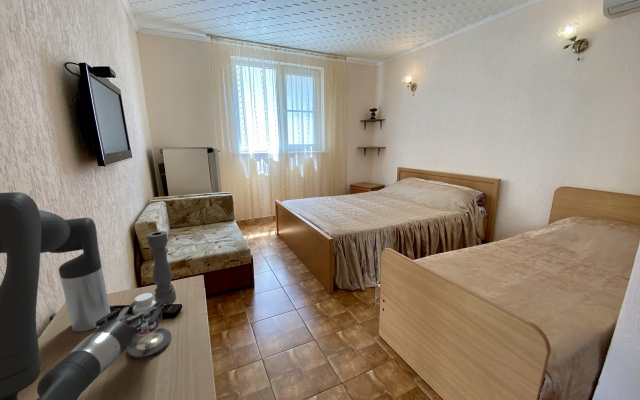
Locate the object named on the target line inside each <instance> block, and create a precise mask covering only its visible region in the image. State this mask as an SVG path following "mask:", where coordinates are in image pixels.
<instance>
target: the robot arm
mask: <svg viewBox="0 0 640 400" xmlns="http://www.w3.org/2000/svg"><path fill="white" fill-rule="evenodd" d="M36 203H37V202H35V200H34V199H33V198H32V197H31V196H30V195H28V194H27V193H24V192H18V191H17V192H13V191H12V192H0V254H6V267H5V273H4V276H3V278H2V281H1V283H0V400H18V399H19V398H18V393H20V392H22V391H24V390H25V389H27V388H28V387H30V386H31V385H32V384H33V383H34V382H36V380H37V379H38V377H39V375H40V374H41V357H40V348H39V347H40V346H39V339H38V330H37V301H38V292H39V291H38V289H39V279H40V278H39V277H40V265H41V264H40V263H41V254H44V253H52V254H63V253H68V252H69V253H70V252H76V251H81V250H82V251H83V252H82V253H81V254H79V255H78V256H76V257H74V258H72V259H69V260H67V261H65V262H64V263H62V264H61V265H60V266H59V268H58V274H59V278H60V282H61V286H62V290H63V295H64V299H65V304H66V307H67V312H68V316H69V317H68V318H69V321H70V324H71V329H72V331H73V332H75V333H77V332H78V333H81V332H87V331H90V330H93V329H95V330H94V331H93V332H91V333H90V334H89V335H87V337H85V338H84V339H83V340H82V341H81V342H79V343H78V344H77V345H76V346H75V347H74V348H73V349H72V350H71V351H70V352H69V353H68V354H67V355H66V356H65V357H63V358H62V359H61V360H60V361H59V362H57V364H55V365H54V366H53V367H52V368H50V369H49V370H48V371H47V372H46V373H45V374H44V375H43V376H42V377H41V378H40V380H39V381H38V383H37V388H36V392H37V395H38V398H36V399H35V400H78V399H79V397H80V396H81V395H82V393H84V391H85V390H86V389H87V388H88V387H90V385H91V384H92V383H93V382H94V381H95V380H96V379H98V377H99V376H100V375H101V374H103V372H105V371H106V370H108V368H109V367H110V366H111V365H112V364H113V363H114V362H115V361H116V360H117V359H118V358H119V357H120V355H121V354H122V353H123V352H124V351H125V350H126V349H128V346H129V345H130V344H131V342H132V341H133V340H134V339H135V336H136V335H137V334H138V333H139V332H141V331H142V330H143V329H149V331H150V332H152V331H154V330H155V329H156V327H157V325H158V324H159V325H160V322H161V321H162V319H163V312H162V309H163V308H164V302H163V300H162V299H159V300H158V301H157V302H156V301H155V302H156V303H155V304H154V305H153V306H152V307H151V308H150V309H148V310H146V311H145V310H143V311H141V312H139V313H138V314H136V315H133V307H134V306H135V301H133V302H132V303H131V304H130V305H128V306H125V307H123V309H121V308H119V307H118V308H115V309H113V311H111V308H110V302H109V298H108V297H109V296H108V292H107V287H106V283H105V282H106V280H105V277H104V271H103V266H102V261H101V256H100V250H99V249H100V248H99V244H98V234H97V233H98V232H97V227H96V224H95V221H94V220H93V219H92V218H91V217H78V218H70V219H69V218H68V219H65V218H63V217H62V216H60V215H58V214H56V213H53V212H49V211H46V210H41V209H39V208H38V205H37V204H36ZM149 313H151V315H150V316H148V314H149ZM114 316H115V317H114ZM141 316H142V317H143V321H142V317H141Z"/></svg>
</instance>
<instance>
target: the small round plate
mask: <svg viewBox="0 0 640 400" xmlns="http://www.w3.org/2000/svg"><path fill="white" fill-rule="evenodd" d="M171 340H172V332H171V331H170V330H169V329H166V328H160V327H158V329H157V330H156V331H155V332H153V333H151V334H149V335H145V336H138V335H137V336H136V337H134V338H133V340H132V342H131V344H130V345H129V346H128V347H127V353H128V355H129V356H130V357H131V358H135V359H143V358H144V359H145V358H147V357H151V356H154V355H156V354H157V353H159V352H161V351H164V349H165V348H166V347H167V346H168V345H169V344H170V342H171Z"/></svg>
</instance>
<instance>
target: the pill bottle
mask: <svg viewBox="0 0 640 400" xmlns="http://www.w3.org/2000/svg"><path fill="white" fill-rule="evenodd" d="M134 302H135V306H134V307H133V314H132V315H136V314H138V313H139V312H141V311H143V310H145V311H146V310H148V309H150V308H151V307H152V306H153V305H154V304H155V303H156V300H154V295H153V293H151V292H146V293H142V294H139V295H136V297H135V298H134ZM150 315H151V313H149V314H148V316H150ZM141 317H142V316H141ZM142 321H143V317H142ZM159 328H160V323H159V324H158V325H157V327H156V329H155V330H154V331H152V332H150V331H149V329H143V330H142V331H141V332H139V333H138V334H136V335H137V336H145V335H149V334H151V333H153V332H155V331H156V330H157V329H159Z"/></svg>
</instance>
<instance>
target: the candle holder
mask: <svg viewBox="0 0 640 400" xmlns="http://www.w3.org/2000/svg"><path fill="white" fill-rule="evenodd" d="M146 240H147V244H148V246H149V248H150V249H151V251H150V252H149V254H150V255H151V256H152V257H153V270H152V277H151V279H152V282H153V283H154V284H155V285H156V287H155V290H154V298H155V300H154V301H155V302H157V301H158V300H159V299H162V300H163V302H164V304H169V303H171V304H172V302H173V303H174V302H175V301H176V299H177V295H176V288H175V286H174V285H173V284H172V279H173V277H174V273H173V271H172V269H171V267H170V264H169V261H168V255H167V253H168V252H169V249H168V247H167V245H168V242H169V239H168V233H167V231H166V230H165V231H164V230H159V231H153V232H149V233H148V234H147V235H146ZM169 305H170V304H169Z"/></svg>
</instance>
